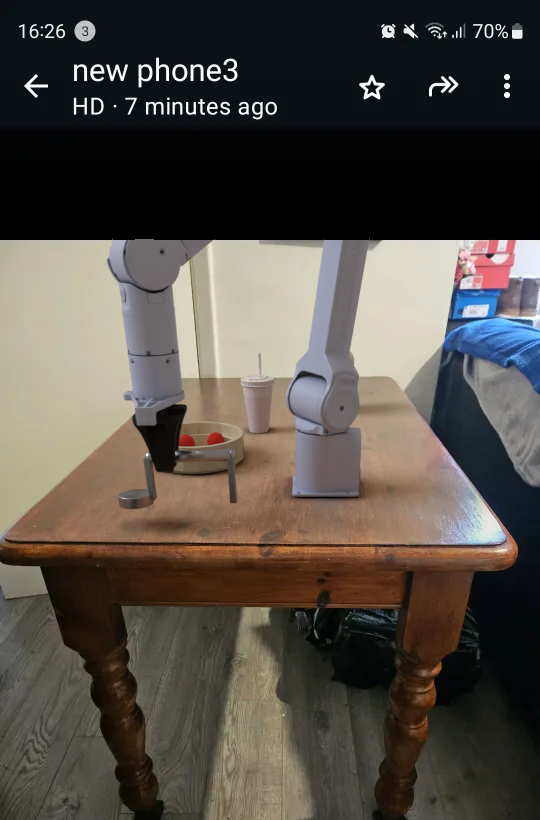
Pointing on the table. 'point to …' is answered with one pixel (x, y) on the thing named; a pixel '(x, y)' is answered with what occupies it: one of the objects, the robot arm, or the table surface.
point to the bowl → (200, 435)
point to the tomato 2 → (215, 438)
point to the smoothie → (258, 399)
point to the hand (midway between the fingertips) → (166, 468)
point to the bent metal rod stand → (147, 497)
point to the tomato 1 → (186, 441)
